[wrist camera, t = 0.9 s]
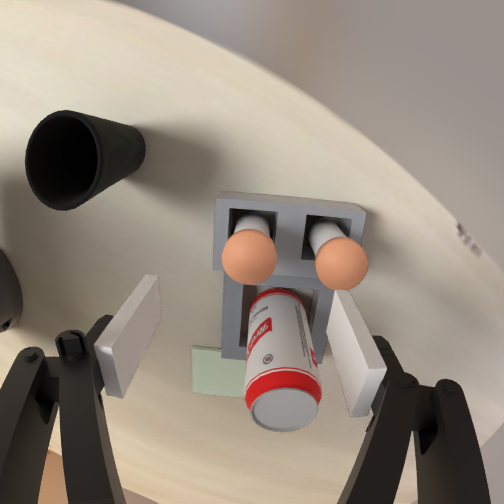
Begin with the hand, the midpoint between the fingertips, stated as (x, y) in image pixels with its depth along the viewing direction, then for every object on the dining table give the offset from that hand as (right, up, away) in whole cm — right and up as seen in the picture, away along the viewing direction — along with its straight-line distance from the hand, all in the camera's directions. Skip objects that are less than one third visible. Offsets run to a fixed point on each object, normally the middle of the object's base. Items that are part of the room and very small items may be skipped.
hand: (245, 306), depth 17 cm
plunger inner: (0, +5, +14) cm, 15 cm away
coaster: (-4, -13, +24) cm, 27 cm away
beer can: (+3, -4, +20) cm, 21 cm away
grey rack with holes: (+3, 0, +19) cm, 19 cm away
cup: (-13, +14, +14) cm, 24 cm away
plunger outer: (+7, +5, +14) cm, 17 cm away
